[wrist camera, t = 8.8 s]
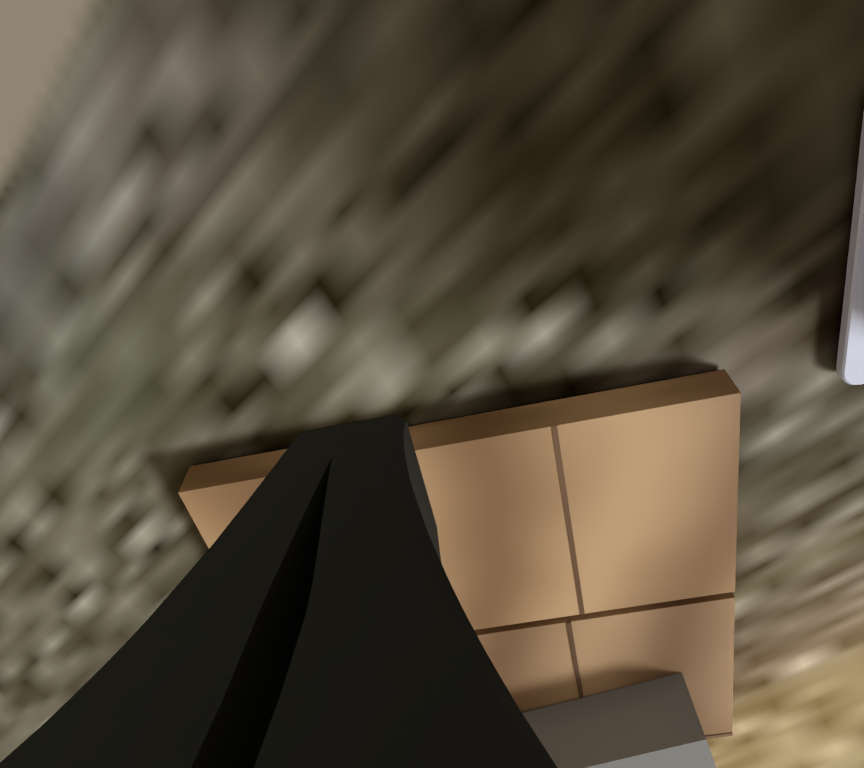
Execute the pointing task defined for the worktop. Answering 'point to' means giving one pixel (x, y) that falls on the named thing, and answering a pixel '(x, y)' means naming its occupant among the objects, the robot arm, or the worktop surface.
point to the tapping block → (625, 728)
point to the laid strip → (623, 655)
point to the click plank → (562, 499)
